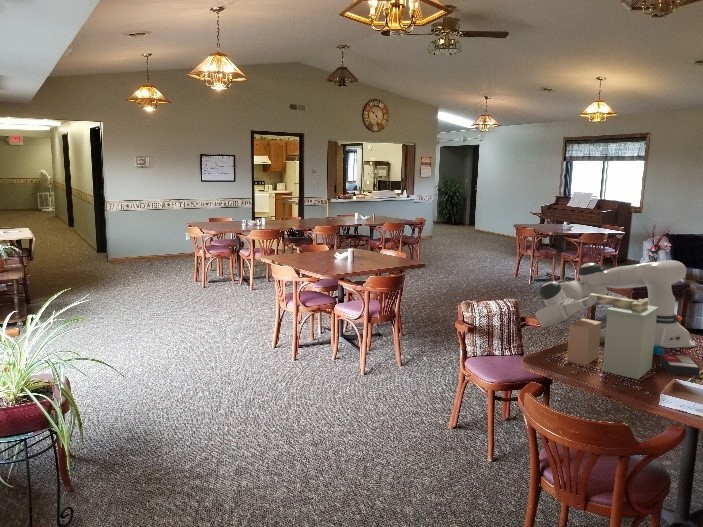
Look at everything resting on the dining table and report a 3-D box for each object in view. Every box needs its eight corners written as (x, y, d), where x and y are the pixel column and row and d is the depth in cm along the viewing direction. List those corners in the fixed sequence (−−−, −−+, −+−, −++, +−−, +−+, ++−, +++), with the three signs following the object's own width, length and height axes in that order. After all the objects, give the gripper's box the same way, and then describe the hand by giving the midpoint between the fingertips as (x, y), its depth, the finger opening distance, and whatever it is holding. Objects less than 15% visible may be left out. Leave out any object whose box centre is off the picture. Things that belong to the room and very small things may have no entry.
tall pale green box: (601, 370, 220) (606, 308, 216) (616, 359, 233) (622, 301, 229) (638, 379, 211) (644, 315, 206) (652, 368, 223) (658, 307, 219)
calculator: (689, 356, 228) (700, 366, 214) (688, 365, 229) (699, 376, 215) (660, 353, 232) (669, 363, 217) (659, 363, 232) (668, 373, 218)
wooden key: (585, 302, 226) (585, 295, 225) (594, 298, 233) (594, 291, 232) (639, 311, 211) (640, 304, 211) (647, 307, 218) (648, 300, 218)
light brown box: (567, 360, 232) (569, 324, 229) (580, 352, 242) (582, 318, 239) (585, 365, 227) (588, 328, 224) (598, 357, 237) (601, 321, 234)
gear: (669, 354, 235) (657, 340, 232) (663, 365, 233) (651, 351, 230) (646, 350, 245) (634, 337, 242) (640, 361, 243) (628, 347, 240)
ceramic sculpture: (596, 321, 261) (631, 327, 254) (593, 338, 263) (628, 344, 256) (595, 327, 252) (630, 333, 245) (592, 344, 253) (627, 351, 247)
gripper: (582, 310, 242) (611, 300, 233) (563, 319, 228) (593, 309, 218) (576, 297, 244) (605, 286, 234) (556, 305, 229) (586, 294, 220)
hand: (599, 297), depth 226 cm, fingers closed on wooden key, 3 cm apart
